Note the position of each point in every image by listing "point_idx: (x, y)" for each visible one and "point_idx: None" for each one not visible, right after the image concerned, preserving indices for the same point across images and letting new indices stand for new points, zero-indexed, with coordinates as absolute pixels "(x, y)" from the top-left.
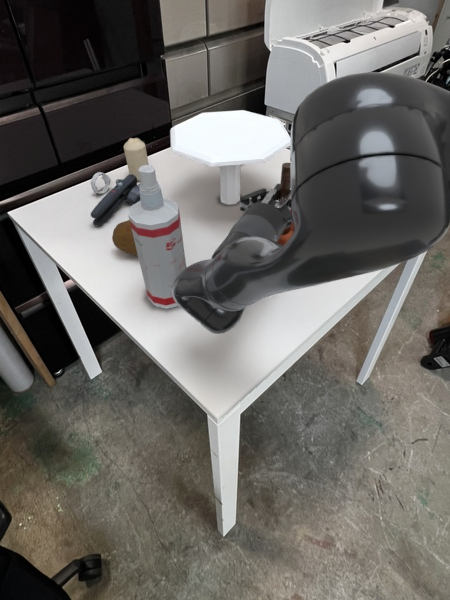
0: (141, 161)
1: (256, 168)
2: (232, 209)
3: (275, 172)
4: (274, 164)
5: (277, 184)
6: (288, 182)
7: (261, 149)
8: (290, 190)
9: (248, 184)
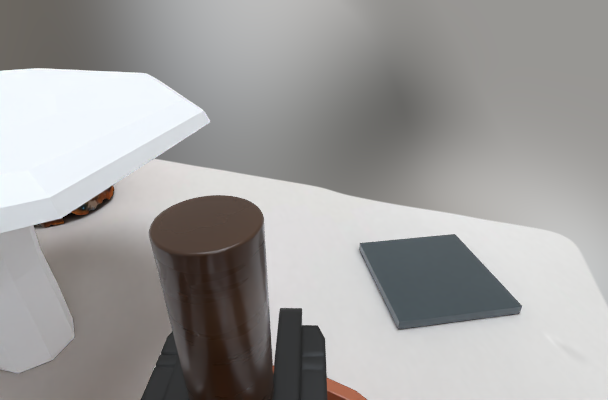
0: None
1: (136, 214)
2: (35, 394)
3: None
4: (180, 197)
5: (171, 336)
6: (252, 361)
7: (42, 151)
8: (275, 386)
9: (111, 265)
